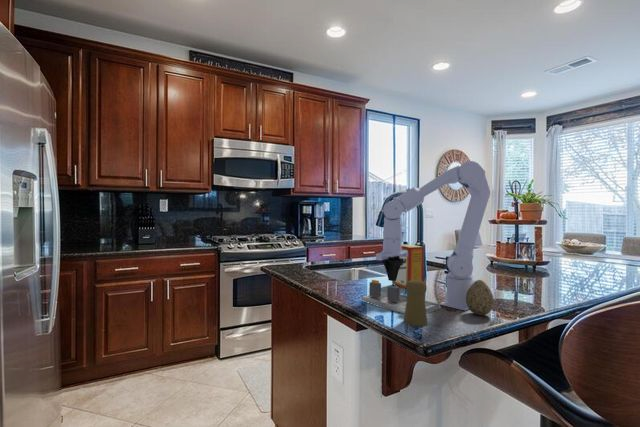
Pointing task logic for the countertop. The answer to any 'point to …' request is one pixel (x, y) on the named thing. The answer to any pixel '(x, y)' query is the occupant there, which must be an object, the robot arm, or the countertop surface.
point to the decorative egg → (479, 298)
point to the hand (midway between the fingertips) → (392, 280)
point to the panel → (397, 303)
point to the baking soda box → (410, 265)
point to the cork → (415, 303)
